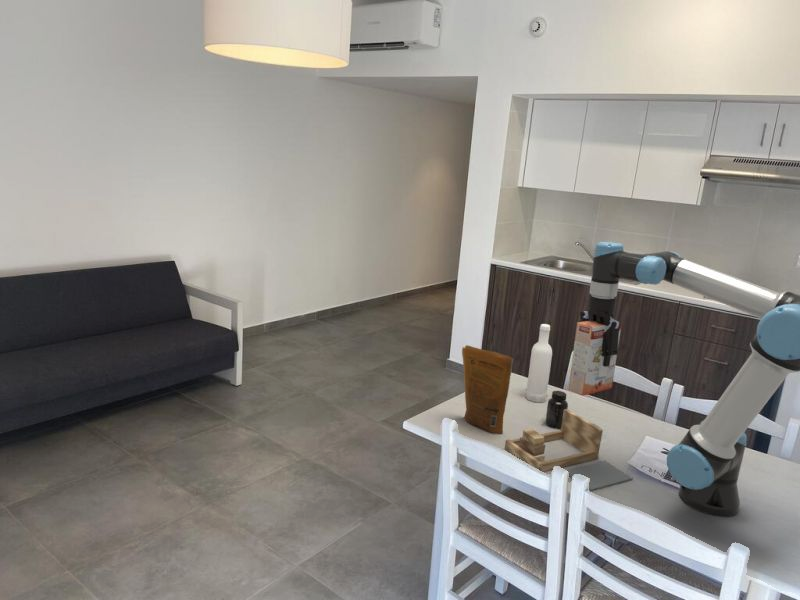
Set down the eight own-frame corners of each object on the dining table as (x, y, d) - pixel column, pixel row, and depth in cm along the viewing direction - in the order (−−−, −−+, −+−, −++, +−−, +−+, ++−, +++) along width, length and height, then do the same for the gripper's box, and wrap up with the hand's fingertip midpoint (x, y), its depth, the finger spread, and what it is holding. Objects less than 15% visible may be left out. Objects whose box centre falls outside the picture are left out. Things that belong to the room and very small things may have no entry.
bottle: (547, 397, 234) (558, 324, 227) (544, 404, 227) (554, 329, 220) (527, 393, 237) (537, 320, 230) (523, 399, 230) (532, 325, 223)
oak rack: (597, 458, 187) (602, 429, 185) (537, 472, 176) (542, 442, 174) (562, 436, 201) (566, 409, 199) (504, 448, 190) (508, 419, 187)
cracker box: (584, 397, 171) (593, 326, 166) (567, 390, 175) (575, 321, 171) (613, 388, 179) (623, 321, 174) (597, 382, 184) (605, 316, 179)
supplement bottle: (554, 419, 214) (558, 388, 211) (569, 427, 209) (573, 395, 206) (540, 422, 211) (545, 391, 208) (555, 430, 205) (560, 398, 202)
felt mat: (632, 479, 176) (632, 478, 176) (590, 491, 168) (590, 489, 168) (604, 462, 185) (604, 460, 185) (563, 472, 178) (563, 470, 177)
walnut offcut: (544, 453, 182) (545, 444, 182) (534, 456, 180) (535, 447, 180) (528, 443, 188) (529, 435, 187) (518, 446, 186) (519, 437, 185)
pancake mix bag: (498, 439, 196) (507, 359, 189) (453, 419, 208) (461, 343, 202) (510, 433, 200) (519, 355, 194) (465, 414, 213) (473, 339, 207)
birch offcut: (543, 464, 182) (545, 455, 181) (533, 466, 180) (534, 457, 180) (527, 452, 189) (528, 443, 188) (517, 454, 187) (518, 445, 187)
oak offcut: (543, 445, 181) (544, 437, 181) (533, 446, 180) (534, 439, 179) (531, 436, 187) (532, 428, 186) (522, 437, 185) (523, 430, 185)
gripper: (639, 302, 164) (627, 381, 169) (588, 288, 181) (579, 361, 186) (619, 304, 161) (608, 384, 166) (569, 289, 178) (560, 363, 183)
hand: (593, 372), depth 176 cm, fingers closed on cracker box, 6 cm apart
